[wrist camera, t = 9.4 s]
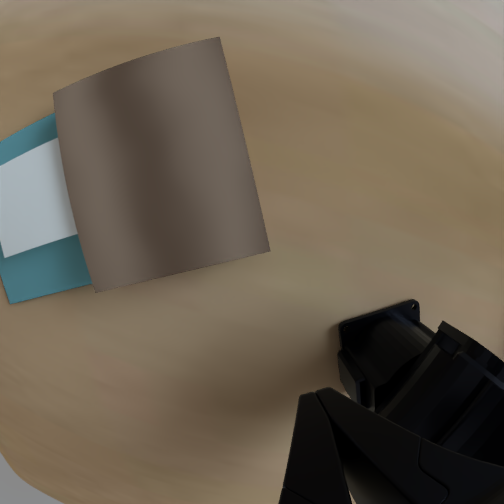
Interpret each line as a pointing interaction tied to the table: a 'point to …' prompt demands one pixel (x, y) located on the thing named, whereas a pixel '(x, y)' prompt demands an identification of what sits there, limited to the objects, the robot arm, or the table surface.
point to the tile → (34, 200)
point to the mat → (48, 255)
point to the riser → (158, 167)
